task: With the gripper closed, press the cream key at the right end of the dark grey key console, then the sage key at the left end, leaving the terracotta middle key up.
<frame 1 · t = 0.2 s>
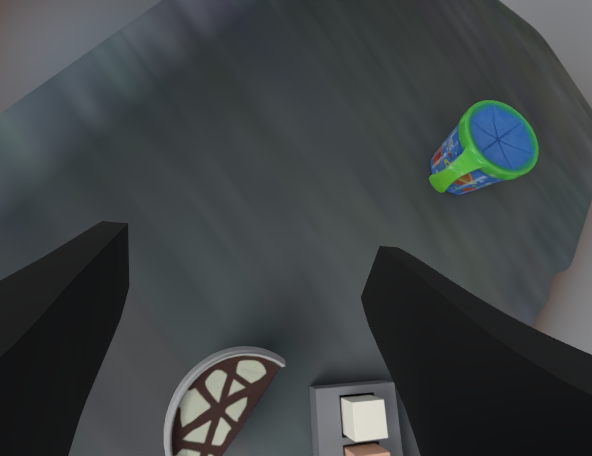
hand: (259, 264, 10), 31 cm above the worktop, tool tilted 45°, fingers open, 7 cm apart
snack cup: (449, 173, 53), on the worktop
key cream: (362, 416, 36), point 4 cm above the worktop, slide at 0.0 cm
half round cake: (211, 388, 37), on the worktop
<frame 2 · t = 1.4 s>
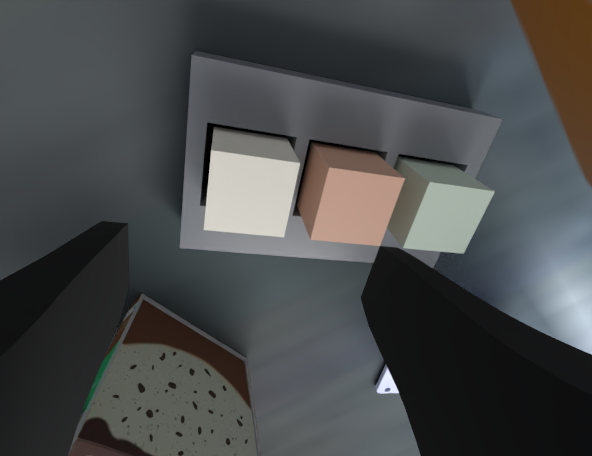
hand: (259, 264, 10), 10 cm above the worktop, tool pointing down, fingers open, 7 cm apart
key terracotta: (345, 193, 17), point 4 cm above the worktop, slide at 0.0 cm
key cream: (248, 180, 16), point 4 cm above the worktop, slide at 0.0 cm
key console: (326, 167, 20), on the worktop
key sage: (429, 204, 18), point 4 cm above the worktop, slide at 0.0 cm
half round cake: (169, 351, 25), on the worktop
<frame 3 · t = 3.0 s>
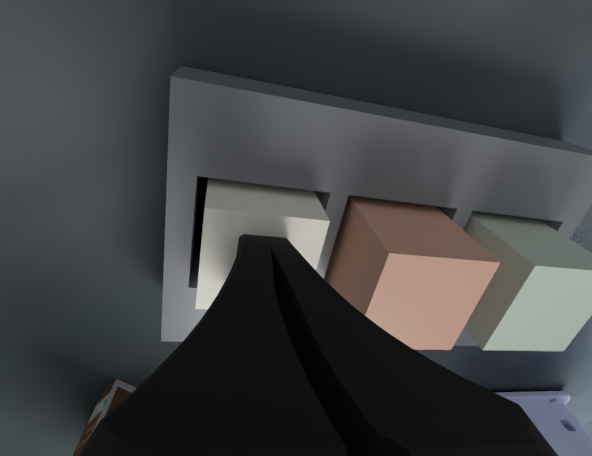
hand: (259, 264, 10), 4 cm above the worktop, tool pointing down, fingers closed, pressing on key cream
key terracotta: (398, 270, 12), point 4 cm above the worktop, slide at 0.0 cm
key cream: (255, 235, 12), point 2 cm above the worktop, slide at 1.5 cm, touching gripper
key console: (362, 219, 15), on the worktop
key sage: (512, 279, 13), point 4 cm above the worktop, slide at 0.0 cm
half round cake: (154, 438, 20), on the worktop
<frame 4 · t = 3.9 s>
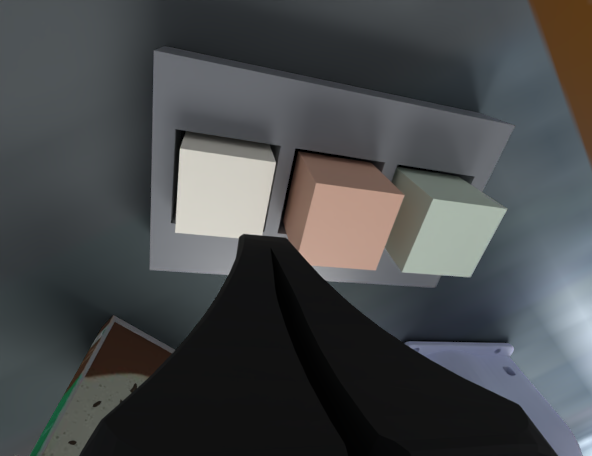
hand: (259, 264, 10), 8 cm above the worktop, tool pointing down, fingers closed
key terracotta: (336, 209, 15), point 4 cm above the worktop, slide at 0.0 cm
key cream: (224, 180, 15), point 2 cm above the worktop, slide at 1.6 cm
key console: (317, 177, 18), on the worktop
key sage: (431, 220, 16), point 4 cm above the worktop, slide at 0.0 cm
half round cake: (146, 375, 23), on the worktop
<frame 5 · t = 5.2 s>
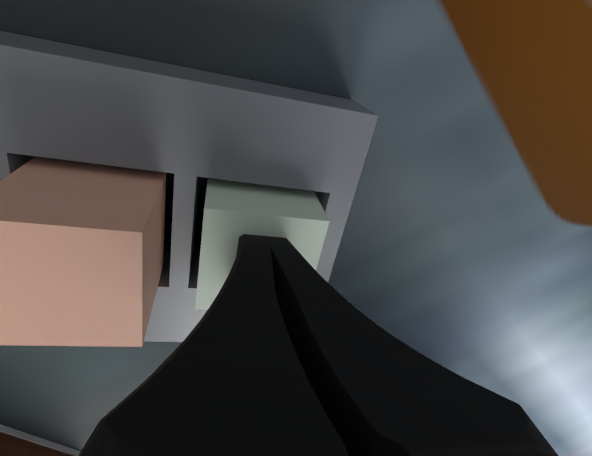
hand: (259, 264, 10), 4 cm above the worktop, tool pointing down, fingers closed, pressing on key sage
key terracotta: (86, 248, 9), point 4 cm above the worktop, slide at 0.0 cm
key console: (120, 193, 12), on the worktop
key sage: (255, 236, 12), point 2 cm above the worktop, slide at 1.5 cm, touching gripper
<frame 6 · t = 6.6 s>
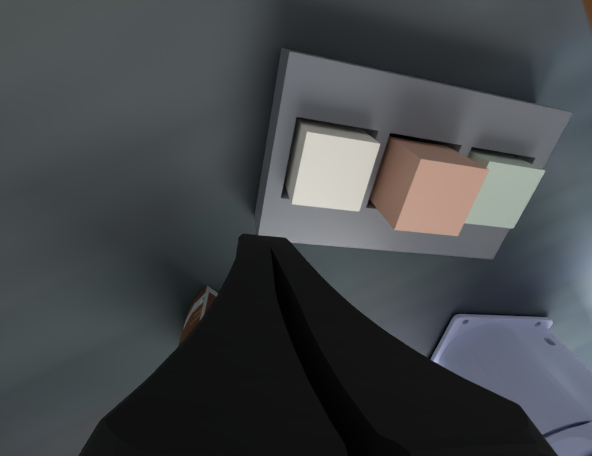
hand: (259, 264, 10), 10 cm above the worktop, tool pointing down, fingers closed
key terracotta: (422, 185, 17), point 4 cm above the worktop, slide at 0.0 cm
key cream: (325, 161, 18), point 2 cm above the worktop, slide at 1.6 cm
key console: (393, 161, 20), on the worktop
key sage: (481, 184, 20), point 2 cm above the worktop, slide at 1.6 cm
half round cake: (226, 343, 26), on the worktop
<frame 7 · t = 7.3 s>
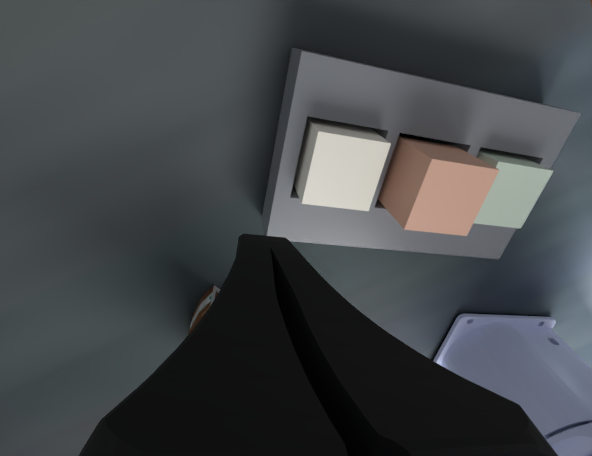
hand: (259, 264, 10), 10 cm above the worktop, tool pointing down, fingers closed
key terracotta: (431, 185, 17), point 4 cm above the worktop, slide at 0.0 cm
key cream: (335, 161, 18), point 2 cm above the worktop, slide at 1.6 cm
key console: (401, 161, 20), on the worktop
key sage: (489, 184, 20), point 2 cm above the worktop, slide at 1.6 cm
half round cake: (232, 342, 26), on the worktop
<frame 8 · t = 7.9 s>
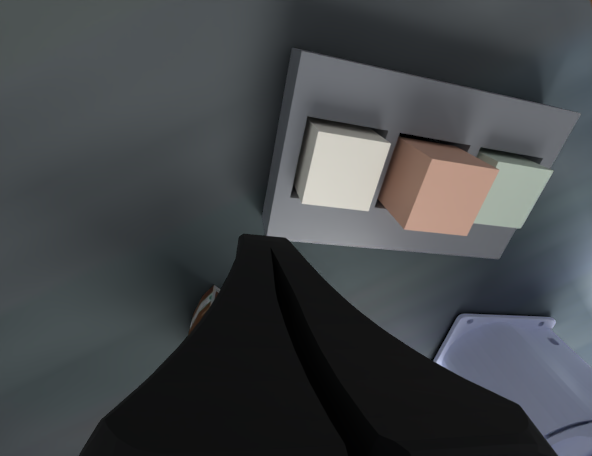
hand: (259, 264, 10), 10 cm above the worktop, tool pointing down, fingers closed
key terracotta: (431, 185, 17), point 4 cm above the worktop, slide at 0.0 cm
key cream: (335, 161, 18), point 2 cm above the worktop, slide at 1.6 cm
key console: (401, 161, 20), on the worktop
key sage: (489, 184, 20), point 2 cm above the worktop, slide at 1.6 cm
half round cake: (232, 342, 26), on the worktop
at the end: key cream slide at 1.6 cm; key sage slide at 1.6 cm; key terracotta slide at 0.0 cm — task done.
